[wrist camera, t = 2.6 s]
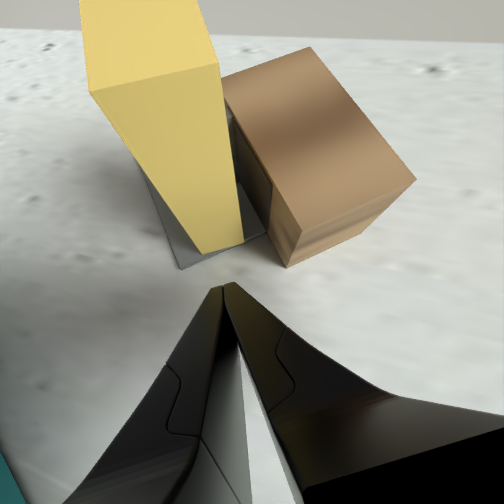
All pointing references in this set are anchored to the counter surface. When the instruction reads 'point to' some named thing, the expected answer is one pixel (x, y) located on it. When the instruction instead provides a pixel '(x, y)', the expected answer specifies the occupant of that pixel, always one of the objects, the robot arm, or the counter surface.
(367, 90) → the counter surface
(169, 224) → the mat
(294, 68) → the brown box
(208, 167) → the yellow block
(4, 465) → the teal l-shaped bracket
